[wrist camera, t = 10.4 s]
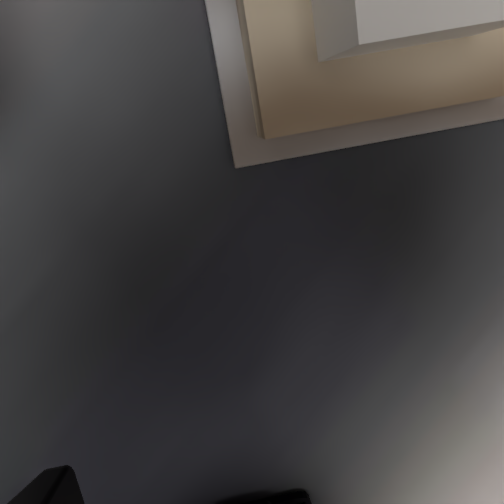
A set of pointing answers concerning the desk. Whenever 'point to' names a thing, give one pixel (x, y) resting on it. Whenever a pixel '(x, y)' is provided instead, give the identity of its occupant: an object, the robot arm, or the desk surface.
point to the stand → (340, 84)
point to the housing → (397, 24)
